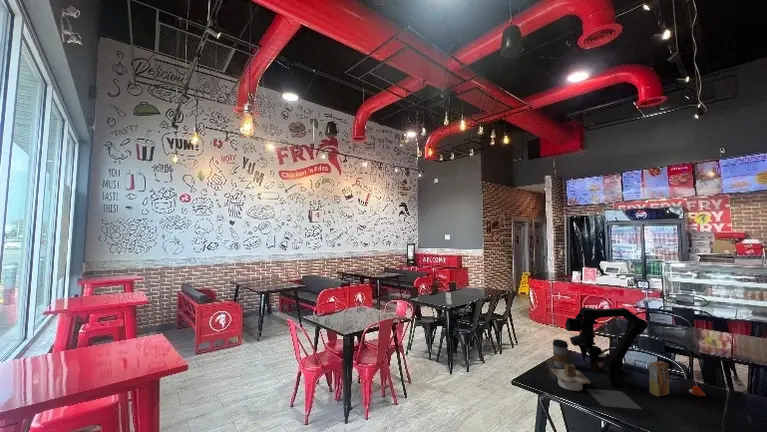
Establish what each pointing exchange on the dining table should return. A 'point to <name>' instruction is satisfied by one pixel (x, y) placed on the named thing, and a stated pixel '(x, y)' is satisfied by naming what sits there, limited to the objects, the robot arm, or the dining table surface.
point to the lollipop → (696, 389)
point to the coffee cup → (560, 353)
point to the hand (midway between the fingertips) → (587, 361)
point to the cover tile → (569, 379)
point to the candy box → (659, 378)
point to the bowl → (571, 385)
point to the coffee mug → (598, 364)
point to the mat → (613, 398)
